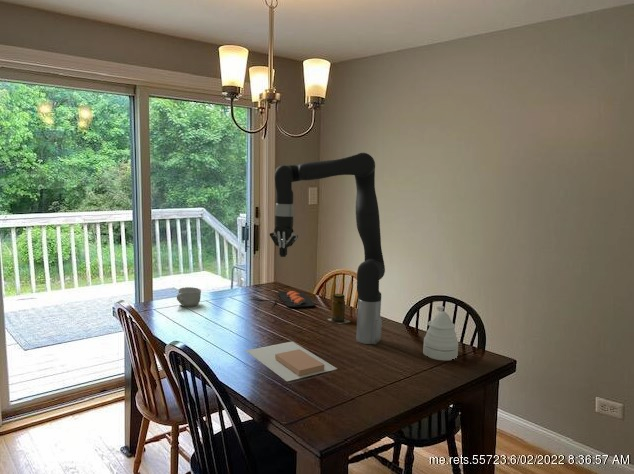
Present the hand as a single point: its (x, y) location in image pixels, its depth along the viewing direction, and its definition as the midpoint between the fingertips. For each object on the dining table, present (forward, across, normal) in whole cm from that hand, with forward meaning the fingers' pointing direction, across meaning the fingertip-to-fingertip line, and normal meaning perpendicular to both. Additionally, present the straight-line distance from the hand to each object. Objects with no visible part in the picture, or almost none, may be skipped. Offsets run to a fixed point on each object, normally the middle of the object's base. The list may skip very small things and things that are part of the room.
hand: (283, 256), depth 198 cm
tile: (+30, +18, -25) cm, 43 cm away
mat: (+32, +20, -26) cm, 46 cm away
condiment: (+32, +14, +27) cm, 44 cm away
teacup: (+32, -58, +6) cm, 67 cm away
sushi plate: (+33, -25, +39) cm, 57 cm away
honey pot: (+32, +64, +12) cm, 73 cm away
